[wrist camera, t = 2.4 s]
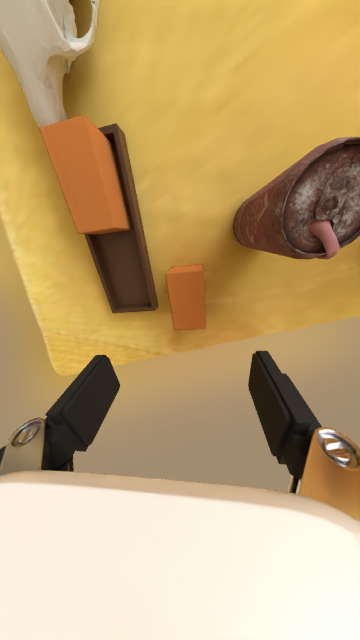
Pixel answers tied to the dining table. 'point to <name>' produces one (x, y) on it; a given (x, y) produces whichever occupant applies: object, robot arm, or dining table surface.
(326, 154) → the can
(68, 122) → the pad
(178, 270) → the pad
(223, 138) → the dining table surface
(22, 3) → the animal skull
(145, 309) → the frame
